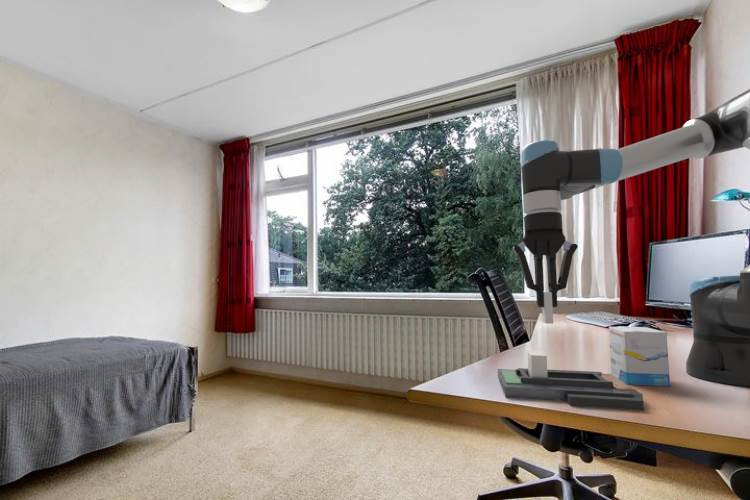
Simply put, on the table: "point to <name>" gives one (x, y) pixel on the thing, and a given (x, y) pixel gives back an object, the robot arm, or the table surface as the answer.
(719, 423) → the table surface
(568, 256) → the robot arm
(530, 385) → the panel
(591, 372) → the dark grey slim bar
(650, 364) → the ink box
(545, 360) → the white rectangular block
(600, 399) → the dark grey bar
